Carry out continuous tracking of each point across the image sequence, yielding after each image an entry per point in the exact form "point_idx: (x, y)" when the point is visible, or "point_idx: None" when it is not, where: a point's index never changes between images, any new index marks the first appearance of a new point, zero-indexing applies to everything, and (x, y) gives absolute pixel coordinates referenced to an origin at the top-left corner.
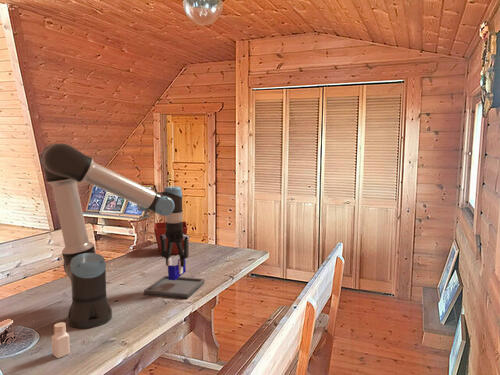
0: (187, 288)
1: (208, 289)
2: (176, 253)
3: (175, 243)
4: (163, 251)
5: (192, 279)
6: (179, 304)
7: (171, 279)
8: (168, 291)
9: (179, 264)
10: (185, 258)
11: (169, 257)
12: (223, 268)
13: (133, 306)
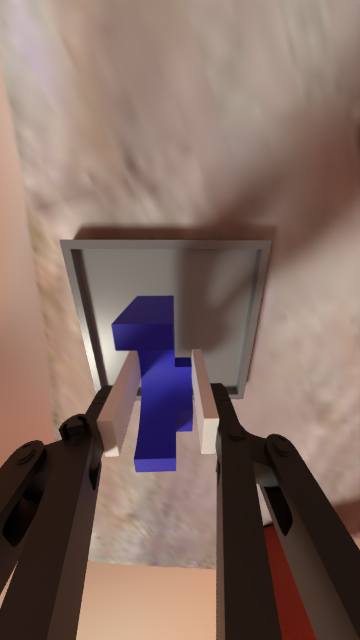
0: None
1: (59, 347)
2: (271, 528)
3: (288, 572)
4: (307, 519)
5: (138, 393)
6: (66, 165)
7: (156, 296)
8: (172, 277)
9: (117, 390)
10: (30, 442)
11: (216, 449)
12: (115, 482)
13: (264, 68)
